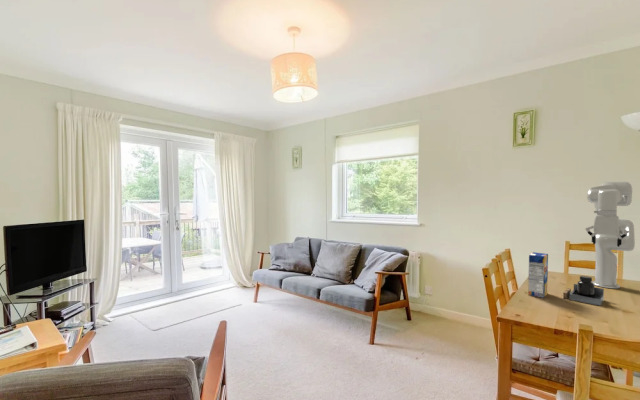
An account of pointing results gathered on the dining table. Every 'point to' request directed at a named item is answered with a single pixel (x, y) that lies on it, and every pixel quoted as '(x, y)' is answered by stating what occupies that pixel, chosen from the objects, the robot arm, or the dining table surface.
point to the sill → (566, 293)
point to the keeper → (596, 300)
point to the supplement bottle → (585, 287)
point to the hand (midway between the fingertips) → (606, 245)
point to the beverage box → (538, 274)
